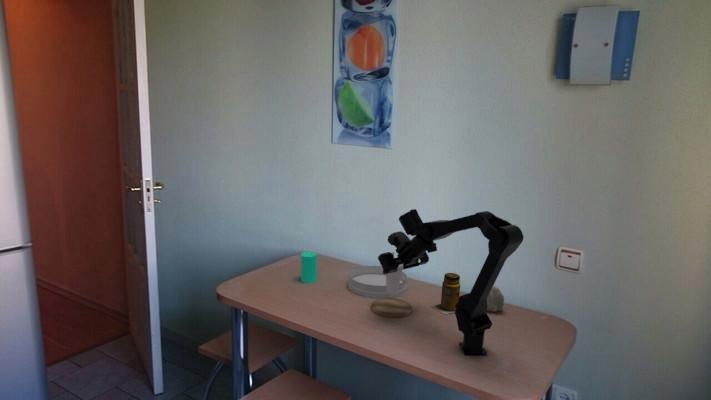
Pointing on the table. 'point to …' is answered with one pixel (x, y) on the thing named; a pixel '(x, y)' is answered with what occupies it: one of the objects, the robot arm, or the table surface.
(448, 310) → the condiment
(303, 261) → the candle
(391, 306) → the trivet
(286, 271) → the table surface
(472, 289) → the robot arm
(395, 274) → the smoothie
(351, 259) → the table surface
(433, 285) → the table surface
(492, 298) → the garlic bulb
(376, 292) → the dish
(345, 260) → the table surface
